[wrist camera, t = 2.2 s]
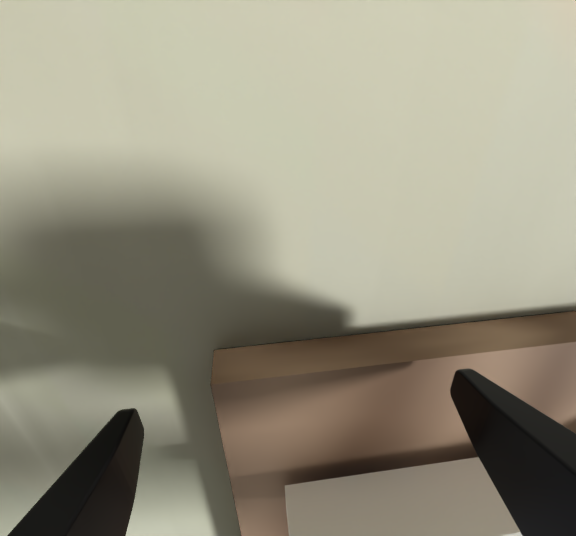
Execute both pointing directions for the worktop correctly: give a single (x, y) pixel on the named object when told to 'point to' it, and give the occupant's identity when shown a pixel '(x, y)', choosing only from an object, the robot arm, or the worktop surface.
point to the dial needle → (402, 503)
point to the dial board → (373, 402)
